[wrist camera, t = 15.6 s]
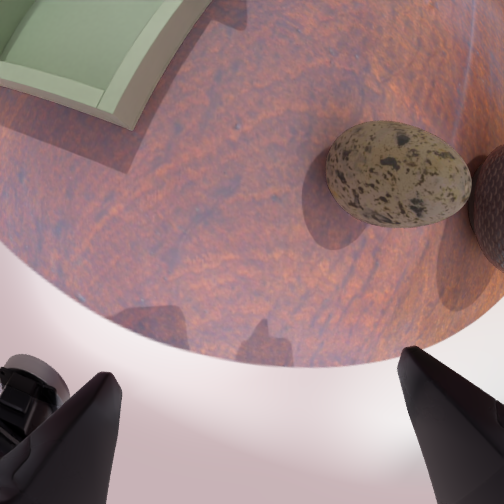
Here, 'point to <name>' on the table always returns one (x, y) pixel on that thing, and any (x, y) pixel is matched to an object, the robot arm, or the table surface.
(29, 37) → the chest
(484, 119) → the table surface
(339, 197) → the decorative egg
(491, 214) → the planter
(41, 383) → the robot arm
